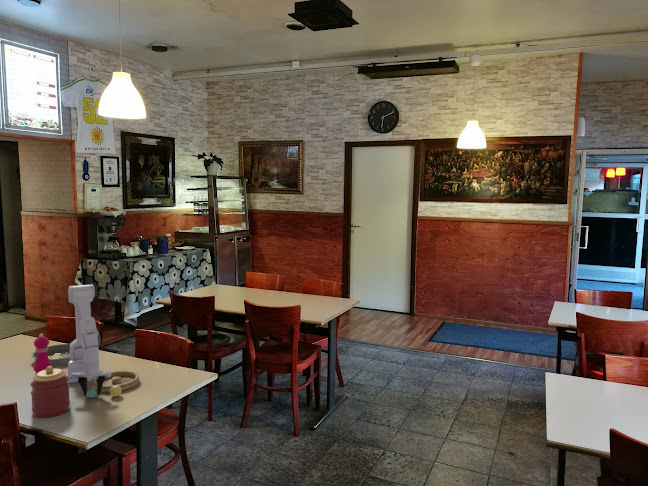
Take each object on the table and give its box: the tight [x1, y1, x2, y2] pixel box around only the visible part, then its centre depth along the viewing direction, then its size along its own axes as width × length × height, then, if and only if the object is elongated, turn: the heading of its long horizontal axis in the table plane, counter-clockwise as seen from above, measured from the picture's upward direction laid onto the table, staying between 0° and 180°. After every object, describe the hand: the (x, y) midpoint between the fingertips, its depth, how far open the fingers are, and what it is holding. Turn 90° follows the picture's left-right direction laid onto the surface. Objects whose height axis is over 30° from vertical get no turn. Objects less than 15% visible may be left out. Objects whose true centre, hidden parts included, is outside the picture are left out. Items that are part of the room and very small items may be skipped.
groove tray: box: [92, 370, 140, 394], centre depth 216 cm, size 18×18×3 cm
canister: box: [30, 366, 71, 418], centre depth 189 cm, size 13×13×18 cm
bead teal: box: [86, 385, 99, 399], centre depth 202 cm, size 5×5×5 cm
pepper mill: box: [33, 333, 53, 375], centre depth 223 cm, size 7×7×20 cm
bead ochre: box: [109, 385, 123, 398], centre depth 203 cm, size 5×5×5 cm
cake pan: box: [31, 343, 71, 367], centre depth 247 cm, size 25×25×4 cm
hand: (92, 394), depth 202 cm, fingers closed on bead teal, 5 cm apart
